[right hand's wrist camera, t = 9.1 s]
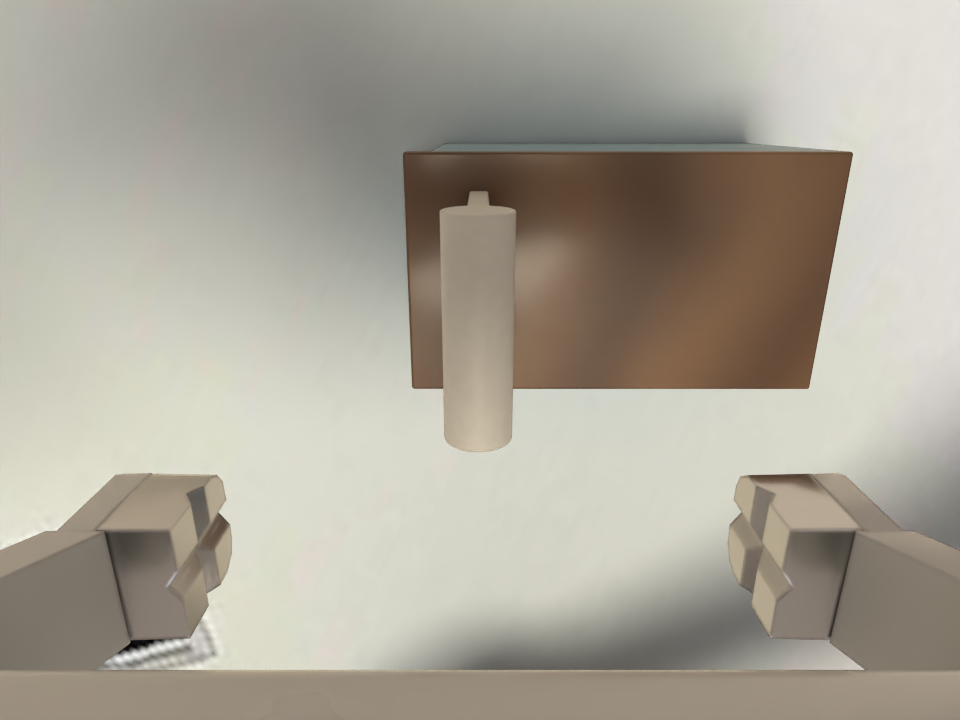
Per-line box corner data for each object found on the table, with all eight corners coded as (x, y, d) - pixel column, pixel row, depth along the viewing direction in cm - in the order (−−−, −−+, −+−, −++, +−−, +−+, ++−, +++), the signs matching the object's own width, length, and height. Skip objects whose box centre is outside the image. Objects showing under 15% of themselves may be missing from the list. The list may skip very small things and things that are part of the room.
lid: (413, 381, 28) (386, 488, 20) (405, 150, 25) (367, 165, 17) (799, 382, 28) (931, 489, 20) (842, 150, 25) (1020, 165, 17)
